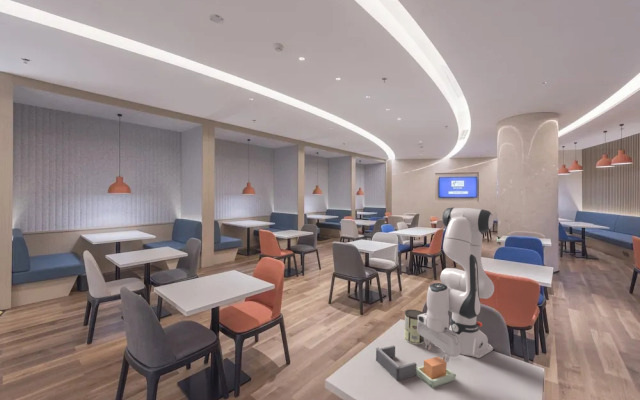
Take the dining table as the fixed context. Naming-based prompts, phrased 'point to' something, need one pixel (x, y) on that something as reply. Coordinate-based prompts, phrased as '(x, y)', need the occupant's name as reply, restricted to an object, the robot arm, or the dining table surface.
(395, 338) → the dining table surface
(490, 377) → the dining table surface
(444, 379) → the tray
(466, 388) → the dining table surface
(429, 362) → the orange block
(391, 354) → the bay
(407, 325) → the coffee can
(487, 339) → the robot arm
